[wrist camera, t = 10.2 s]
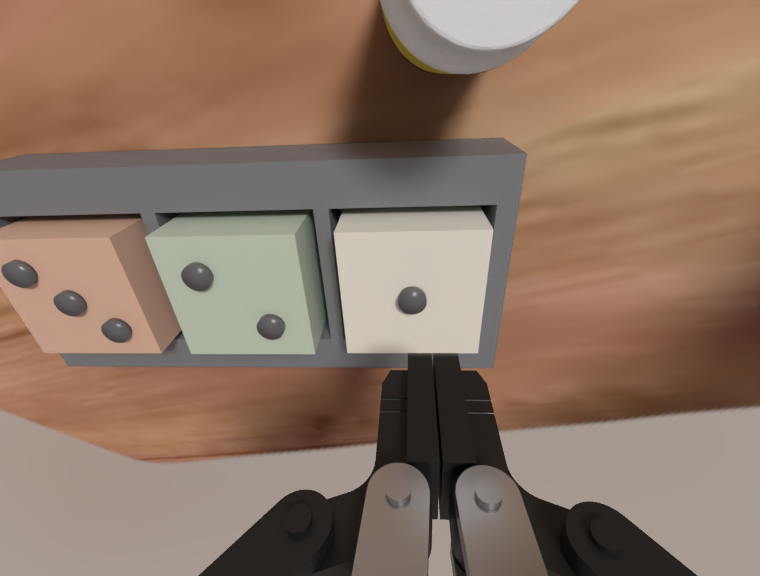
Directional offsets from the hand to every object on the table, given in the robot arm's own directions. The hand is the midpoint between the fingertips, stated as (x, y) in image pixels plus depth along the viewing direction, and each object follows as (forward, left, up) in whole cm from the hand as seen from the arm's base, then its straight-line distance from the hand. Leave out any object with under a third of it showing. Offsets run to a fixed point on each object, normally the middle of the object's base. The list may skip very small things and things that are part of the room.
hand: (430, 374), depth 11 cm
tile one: (0, 0, -7) cm, 7 cm away
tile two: (+7, 0, -7) cm, 10 cm away
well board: (+7, 0, -9) cm, 11 cm away
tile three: (+14, 0, -7) cm, 16 cm away
